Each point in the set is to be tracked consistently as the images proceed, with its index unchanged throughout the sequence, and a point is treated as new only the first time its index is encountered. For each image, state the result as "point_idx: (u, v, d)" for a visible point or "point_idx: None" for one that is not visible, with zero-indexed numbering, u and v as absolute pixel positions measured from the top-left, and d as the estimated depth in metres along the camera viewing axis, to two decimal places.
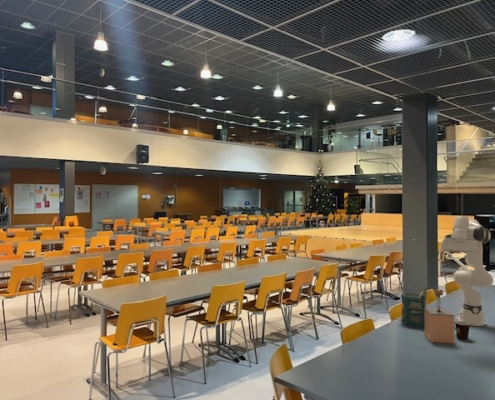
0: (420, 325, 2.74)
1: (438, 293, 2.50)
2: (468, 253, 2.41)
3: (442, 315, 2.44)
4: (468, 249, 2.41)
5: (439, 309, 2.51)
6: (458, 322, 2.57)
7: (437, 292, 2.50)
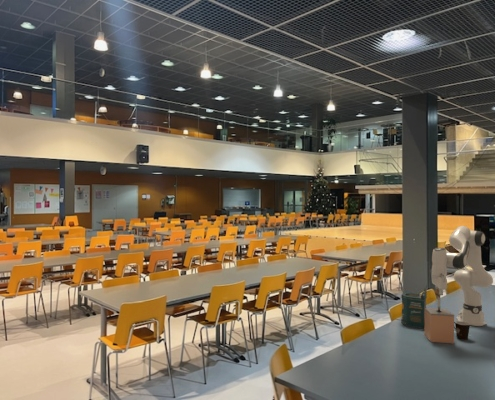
0: (420, 325, 2.74)
1: (438, 293, 2.50)
2: (439, 290, 2.48)
3: (442, 315, 2.44)
4: (439, 286, 2.46)
5: (439, 309, 2.51)
6: (458, 322, 2.57)
7: (437, 292, 2.50)
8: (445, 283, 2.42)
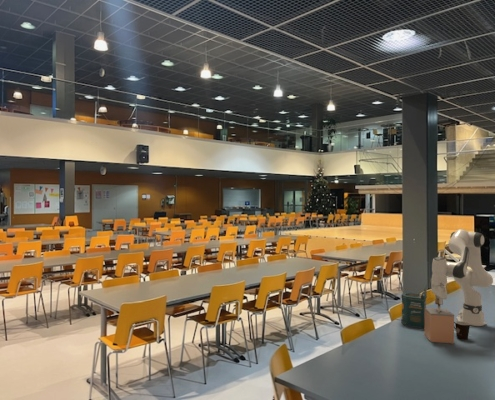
0: (420, 325, 2.74)
1: (438, 302, 2.50)
2: (439, 299, 2.48)
3: (442, 315, 2.44)
4: (439, 296, 2.46)
5: None
6: (458, 322, 2.57)
7: (437, 302, 2.50)
8: (445, 293, 2.42)
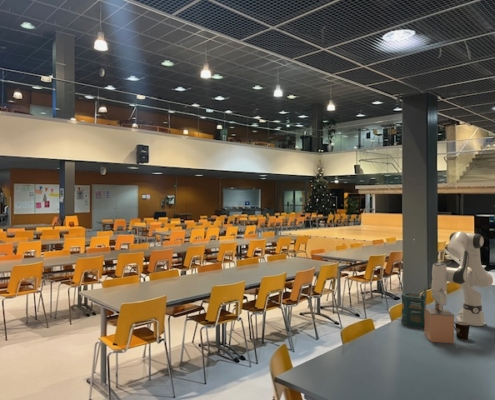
0: (420, 325, 2.74)
1: (438, 308, 2.50)
2: (439, 305, 2.47)
3: (442, 315, 2.44)
4: (438, 302, 2.46)
5: None
6: (458, 322, 2.57)
7: (437, 307, 2.50)
8: (445, 298, 2.42)
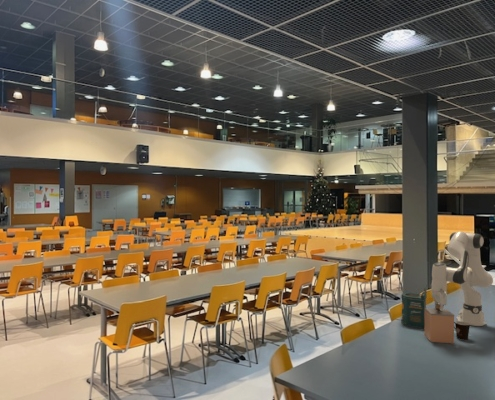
0: (420, 325, 2.74)
1: (438, 308, 2.50)
2: (440, 305, 2.46)
3: (442, 315, 2.44)
4: (438, 302, 2.46)
5: None
6: (458, 322, 2.57)
7: (437, 307, 2.50)
8: (445, 299, 2.42)
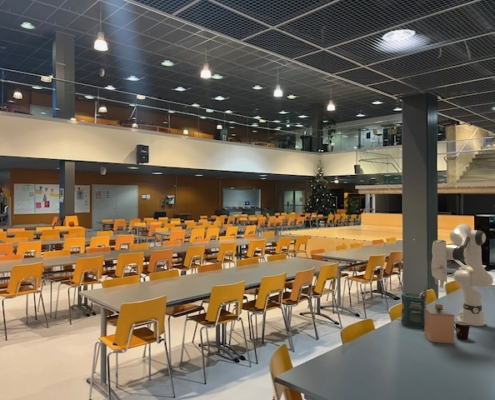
0: (420, 325, 2.74)
1: (438, 308, 2.50)
2: (440, 282, 2.46)
3: (442, 315, 2.44)
4: (439, 278, 2.46)
5: None
6: (458, 322, 2.57)
7: (437, 307, 2.50)
8: (445, 275, 2.42)
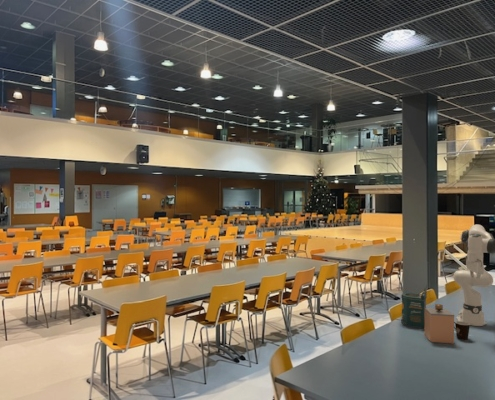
0: (420, 325, 2.74)
1: (438, 308, 2.50)
2: (477, 275, 2.52)
3: (442, 315, 2.44)
4: (475, 271, 2.52)
5: None
6: (458, 322, 2.57)
7: (437, 307, 2.50)
8: (482, 268, 2.48)
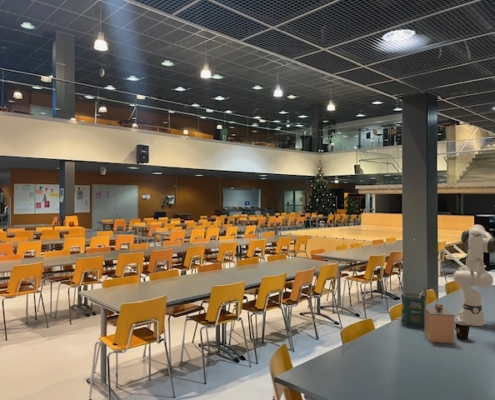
0: (420, 325, 2.74)
1: (438, 308, 2.50)
2: (477, 274, 2.52)
3: (442, 315, 2.44)
4: (476, 271, 2.52)
5: None
6: (458, 322, 2.57)
7: (437, 307, 2.50)
8: (483, 267, 2.48)
